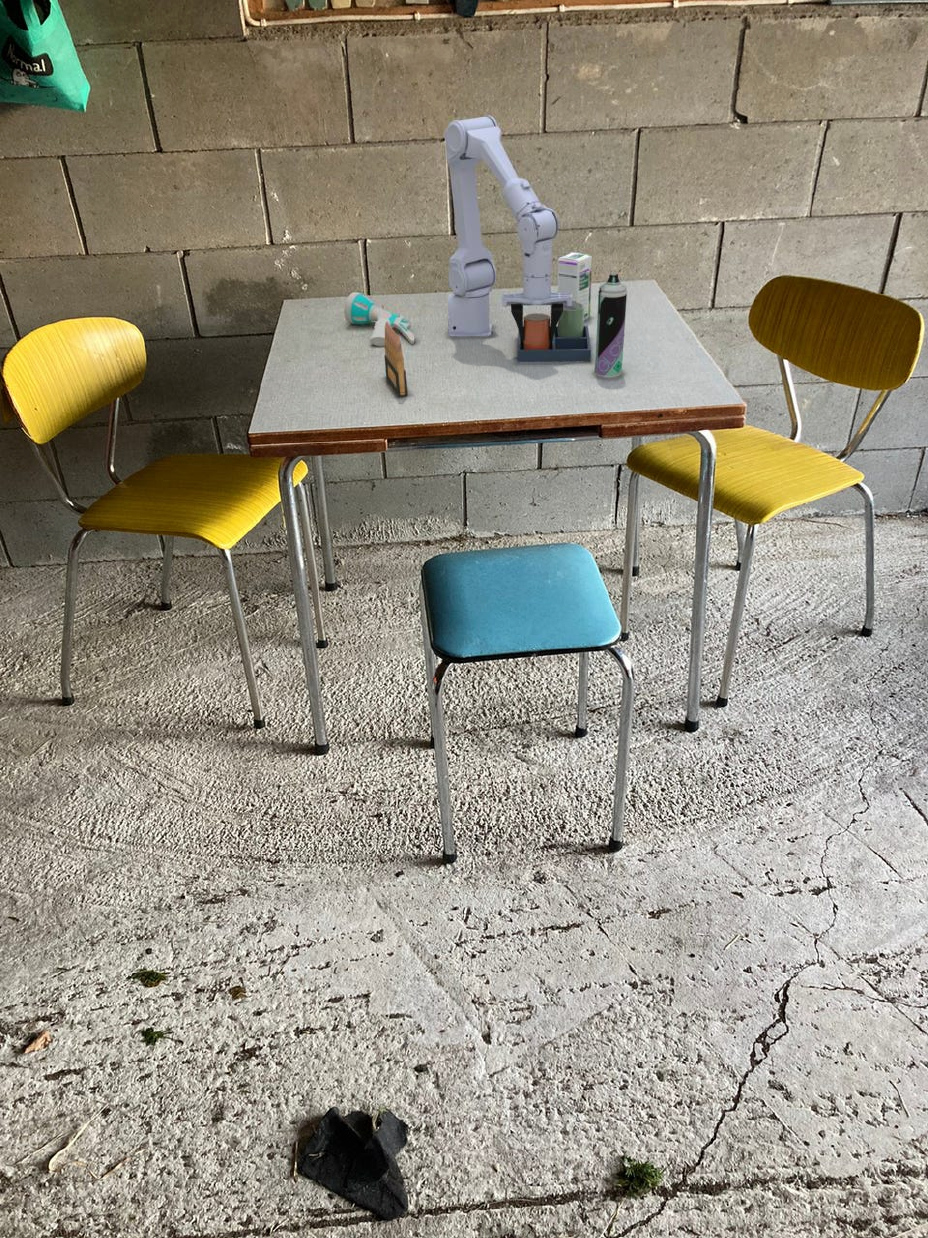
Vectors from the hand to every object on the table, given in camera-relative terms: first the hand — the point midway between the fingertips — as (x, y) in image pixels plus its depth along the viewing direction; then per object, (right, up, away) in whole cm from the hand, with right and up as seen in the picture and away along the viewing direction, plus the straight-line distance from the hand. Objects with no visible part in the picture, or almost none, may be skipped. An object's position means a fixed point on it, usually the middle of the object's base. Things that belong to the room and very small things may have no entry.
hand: (536, 339), depth 200 cm
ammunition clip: (-29, -12, -9) cm, 33 cm away
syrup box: (+10, +11, +22) cm, 27 cm away
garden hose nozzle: (-35, +7, +19) cm, 41 cm away
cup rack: (+4, -1, +5) cm, 7 cm away
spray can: (+14, -9, -7) cm, 18 cm away
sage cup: (+8, +2, +7) cm, 11 cm away
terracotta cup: (0, -3, +2) cm, 3 cm away
